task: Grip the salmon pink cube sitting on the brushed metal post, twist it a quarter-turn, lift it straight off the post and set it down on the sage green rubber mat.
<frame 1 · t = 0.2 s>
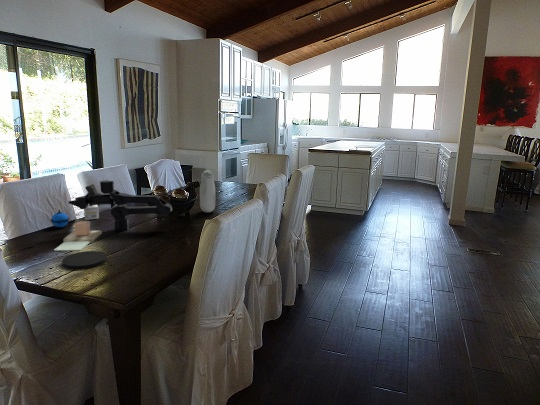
hand: (72, 200, 209), 17 cm above the table, tool horizontal, fingers open, 9 cm apart
salmon pink cube: (83, 233, 200), point 2 cm above the table, touching post base
post base: (83, 237, 200), on the table
container: (91, 218, 237), on the table
ornament: (60, 227, 217), on the table
wireless charger: (85, 262, 169), on the table
mat: (72, 246, 187), on the table
white tall cylinder: (207, 212, 258), on the table
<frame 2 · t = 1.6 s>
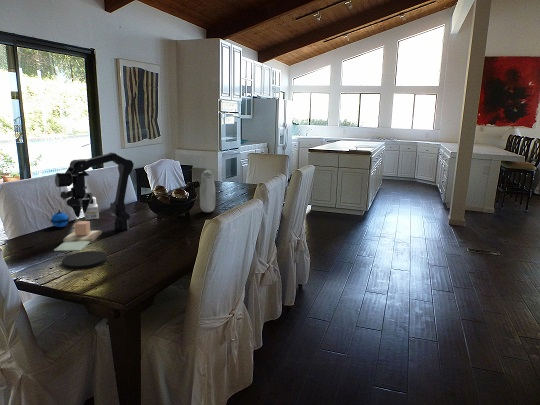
hand: (81, 215, 198), 12 cm above the table, tool pointing down, fingers open, 9 cm apart
nothing on the table moved.
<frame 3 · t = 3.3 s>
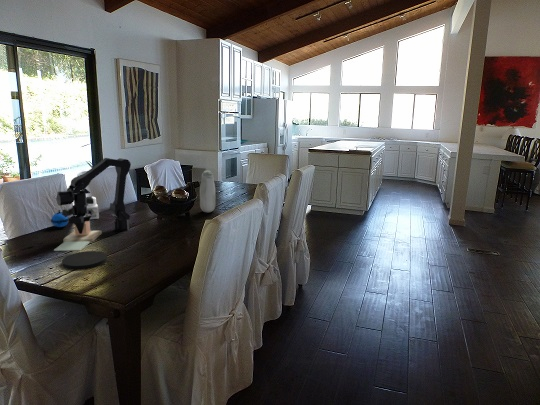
hand: (82, 231, 200), 3 cm above the table, tool pointing down, fingers closed on salmon pink cube, 6 cm apart
salmon pink cube: (83, 233, 200), point 2 cm above the table, touching gripper, post base
everything else where it was.
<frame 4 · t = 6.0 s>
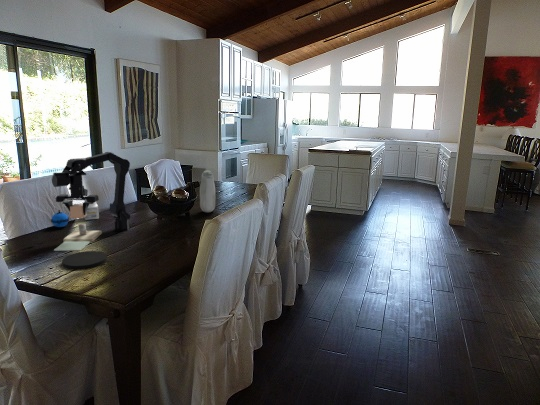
hand: (78, 215, 195), 13 cm above the table, tool pointing down, fingers closed on salmon pink cube, 6 cm apart
salmon pink cube: (78, 216, 195), point 12 cm above the table, touching gripper
everything else where it was.
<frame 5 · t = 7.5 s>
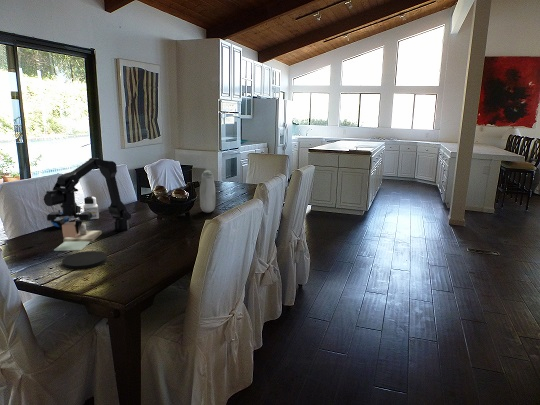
hand: (71, 233, 185), 7 cm above the table, tool pointing down, fingers closed on salmon pink cube, 6 cm apart
salmon pink cube: (71, 235, 186), point 6 cm above the table, touching gripper
everything else where it was.
when the fingers open (3 cm above the table, at t = 8.9 s): salmon pink cube drops 2 cm, resting on mat.
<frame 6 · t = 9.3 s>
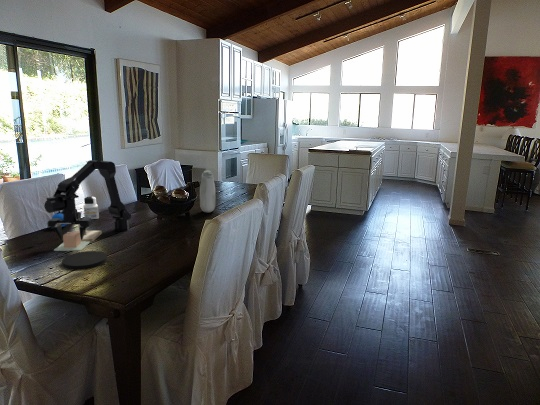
hand: (71, 239, 186), 3 cm above the table, tool pointing down, fingers open, 9 cm apart
salmon pink cube: (72, 245, 187), resting on mat
everything else where it was.
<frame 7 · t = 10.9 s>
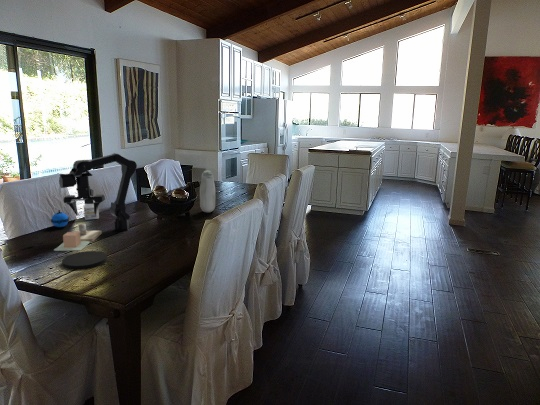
hand: (86, 214, 200), 12 cm above the table, tool pointing down, fingers open, 9 cm apart
nothing on the table moved.
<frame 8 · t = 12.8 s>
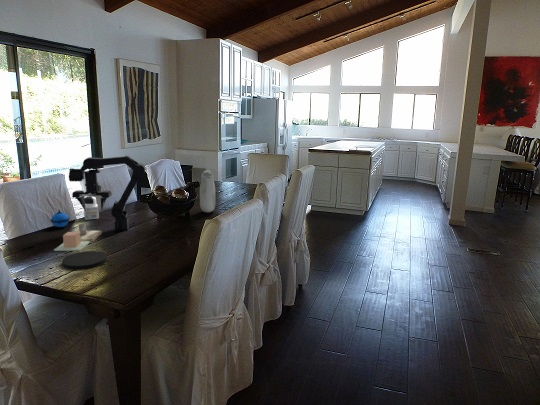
hand: (93, 209, 210), 12 cm above the table, tool pointing down, fingers open, 9 cm apart
nothing on the table moved.
at the end: salmon pink cube inside the target area on the mat (0.0 cm from its centre), point 0.5 cm above the mat's base; salmon pink cube tilted 0°; the gripper is holding nothing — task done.
